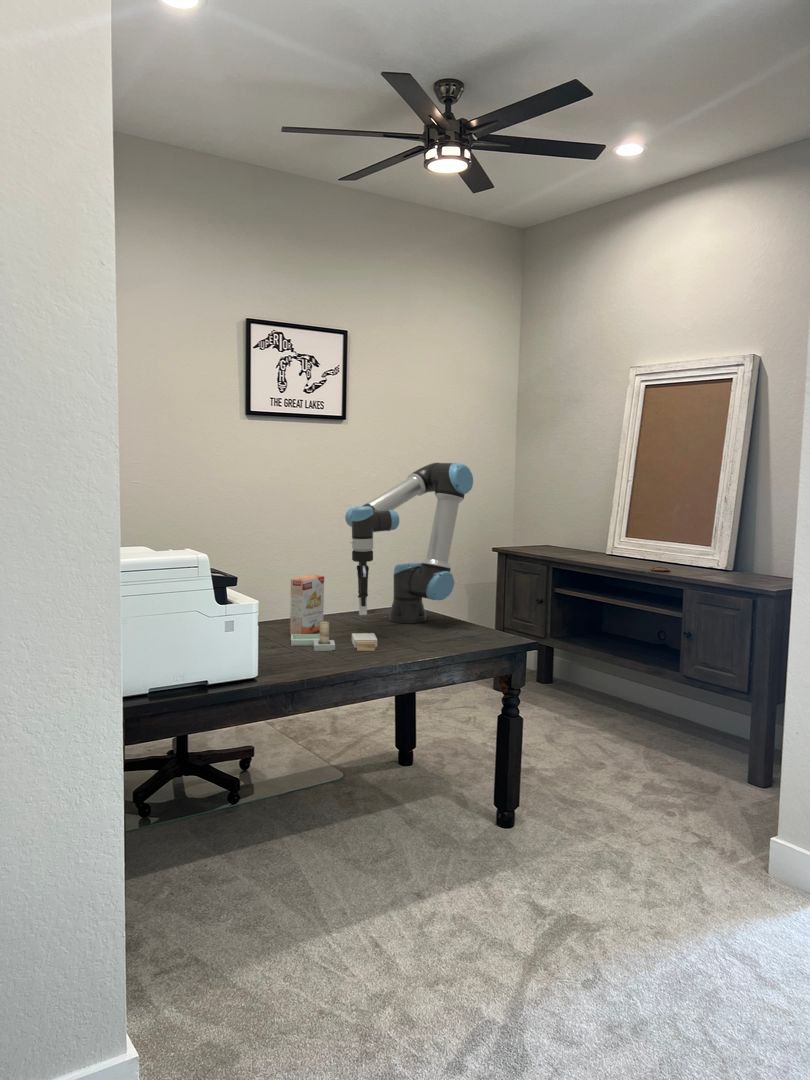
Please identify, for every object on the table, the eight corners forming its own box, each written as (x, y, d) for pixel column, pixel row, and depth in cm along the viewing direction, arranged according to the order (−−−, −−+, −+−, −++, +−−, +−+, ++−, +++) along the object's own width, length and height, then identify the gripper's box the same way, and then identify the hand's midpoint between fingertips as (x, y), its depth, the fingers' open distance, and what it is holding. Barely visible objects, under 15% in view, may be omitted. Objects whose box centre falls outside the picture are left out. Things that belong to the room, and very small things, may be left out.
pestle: (319, 647, 268) (319, 621, 267) (328, 647, 269) (328, 621, 268) (319, 649, 265) (319, 623, 264) (329, 649, 266) (329, 623, 265)
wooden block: (356, 648, 268) (356, 641, 268) (373, 647, 269) (373, 640, 269) (357, 651, 264) (357, 643, 264) (375, 650, 265) (375, 643, 265)
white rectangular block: (351, 641, 279) (351, 633, 279) (373, 641, 280) (373, 633, 280) (354, 648, 269) (354, 640, 269) (377, 648, 271) (377, 639, 270)
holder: (313, 646, 270) (313, 640, 270) (333, 645, 271) (333, 640, 271) (314, 651, 263) (314, 645, 263) (335, 650, 264) (335, 644, 264)
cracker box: (302, 637, 283) (303, 580, 280) (289, 635, 286) (289, 578, 283) (324, 630, 295) (325, 575, 293) (311, 628, 298) (311, 573, 296)
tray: (290, 639, 278) (291, 634, 278) (325, 639, 280) (325, 633, 280) (291, 646, 269) (291, 640, 269) (326, 645, 271) (326, 639, 271)
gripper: (350, 547, 284) (351, 611, 287) (353, 552, 272) (354, 619, 275) (370, 547, 286) (371, 610, 289) (375, 552, 273) (375, 618, 276)
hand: (363, 614), depth 282 cm, fingers closed
